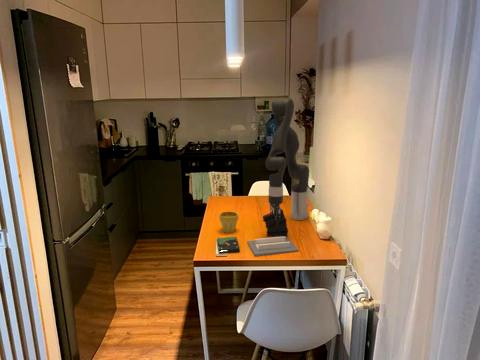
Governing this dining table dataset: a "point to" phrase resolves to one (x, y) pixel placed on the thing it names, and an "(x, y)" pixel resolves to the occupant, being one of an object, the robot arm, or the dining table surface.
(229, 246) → the disk drive
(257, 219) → the dining table surface
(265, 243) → the rail board
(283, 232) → the magazine
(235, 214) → the plant pot
